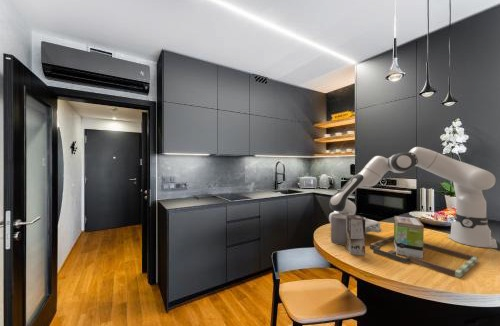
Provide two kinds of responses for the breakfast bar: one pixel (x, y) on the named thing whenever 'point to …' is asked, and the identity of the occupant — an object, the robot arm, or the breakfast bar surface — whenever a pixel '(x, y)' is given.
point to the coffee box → (355, 234)
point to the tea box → (408, 236)
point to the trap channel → (455, 273)
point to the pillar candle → (338, 229)
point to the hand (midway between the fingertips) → (380, 230)
